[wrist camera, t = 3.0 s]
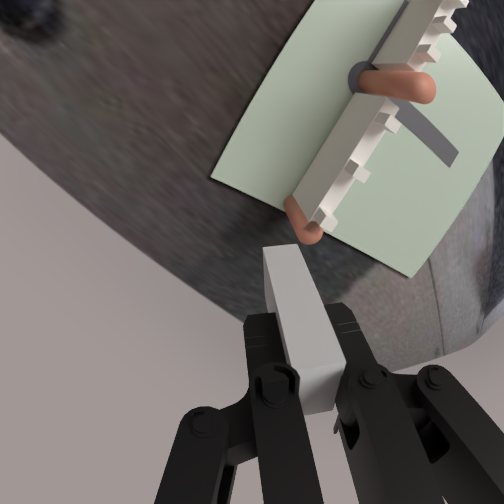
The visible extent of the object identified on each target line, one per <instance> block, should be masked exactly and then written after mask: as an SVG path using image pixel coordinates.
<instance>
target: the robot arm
mask: <svg viewBox="0 0 504 504" xmlns="http://www.w3.org/2000/svg"><path fill="white" fill-rule="evenodd" d="M263 262H264V283H265V299H266V304H267V309H268V313H263V314H254V315H248V316H247V318H246V320H245V323H244V325H243V330H244V340H245V349H246V358H247V368H248V376H249V388H248V390H247V393H246V394H245V396H244V397H243V398H242V399H241V400H240V401H238V402H237V403H235V404H233V405H231V406H228V407H226V408H223V409H220V410H218V409H216V408H213V407H209V406H206V407H197V408H194V409H192V410H190V411H189V412H188V413H186V414H185V415H184V417H183V418H182V420H181V422H180V424H179V428H178V431H177V434H176V437H175V440H174V443H173V446H172V449H171V452H170V455H169V458H168V461H167V464H166V467H165V470H164V474H163V477H162V480H161V483H160V486H159V489H158V492H157V495H156V499H155V502H154V504H230V499H231V494H232V490H233V485H234V480H235V475H236V470H237V465H238V464H240V463H243V462H245V461H248V460H250V459H253V458H255V457H258V462H259V470H260V478H261V485H262V493H263V500H264V504H324V502H323V498H322V493H321V488H320V484H319V480H318V475H317V471H316V466H315V462H314V458H313V453H312V449H311V445H310V440H309V436H308V432H307V427H306V423H305V419H304V415H309V414H315V413H320V412H325V411H331V410H333V408H334V405H335V403H336V407H337V410H338V413H339V414H338V417H337V420H336V423H335V426H334V434H336V433H337V431H338V429H339V432H340V436H341V439H342V443H343V446H344V450H345V453H346V457H347V461H348V464H349V468H350V471H351V475H352V479H353V482H354V486H355V489H356V493H357V497H358V501H359V504H445V502H444V500H443V497H444V499H445V500H446V501H447V503H448V504H504V433H503V432H502V431H501V430H500V428H499V427H498V426H497V425H496V424H495V423H494V421H493V420H492V419H491V418H490V417H489V415H488V414H487V413H486V412H485V411H484V410H483V409H482V407H481V406H480V405H479V404H478V403H477V402H476V401H475V399H474V398H473V397H472V396H471V395H470V394H469V393H468V392H467V391H466V389H465V388H464V387H463V386H462V385H461V384H460V383H459V382H458V380H457V379H456V378H455V377H454V376H453V375H452V374H451V373H450V372H449V371H448V370H447V369H445V368H444V367H442V366H439V365H428V366H425V367H423V368H422V369H421V370H420V371H419V372H418V374H417V375H406V374H394V373H391V372H389V371H388V369H387V368H385V367H383V366H382V365H380V364H378V363H377V361H376V360H375V358H374V355H373V353H372V351H371V349H370V347H369V345H368V343H367V341H366V339H365V337H364V335H363V333H362V331H361V328H360V326H359V324H358V323H357V320H356V318H355V316H354V314H353V312H352V310H350V309H349V308H348V307H347V306H346V305H344V304H343V303H342V302H341V303H334V304H327V305H323V303H322V301H321V298H320V296H319V294H318V291H317V289H316V286H315V284H314V282H313V279H312V277H311V275H310V272H309V270H308V268H307V266H306V263H305V261H304V259H303V256H302V254H301V252H300V250H299V247H298V245H297V244H291V245H281V246H271V247H263ZM442 496H443V497H442Z"/></svg>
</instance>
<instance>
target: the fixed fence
mask: <svg viewBox="0 0 504 504" xmlns="http://www.w3.org/2000/svg"><path fill="white" fill-rule="evenodd" d="M468 2H469V1H468V0H410V1H409V3H408V5H407V6H406V8H405V10H404V11H403V13H402V15H401V16H400V18H399V20H398V21H397V23H396V25H395V26H394V28H393V29H392V31H391V33H390V34H389V36H388V38H387V39H386V41H385V43H384V44H383V46H382V47H381V49H380V51H379V52H378V54H377V56H376V57H375V59H374V61H373V62H372V65H374V66H375V67H376V68H378V69H379V70H365V71H363V72H361V73H360V74H359V76H358V80H357V82H358V86H359V88H360V89H361V90H362V91H363V92H364V93H367V94H373V95H379V96H385V97H390V98H396V99H401V100H406V101H411V102H415V103H420V104H429V103H431V102H432V101H433V100H434V98H435V96H436V84H435V82H434V80H433V78H432V77H431V76H430V75H429V74H427V73H425V72H421V71H422V69H423V67H424V66H425V64H426V62H432V63H437V62H438V60H439V59H440V57H441V55H442V54H441V53H440V52H439V51H438V50H437V49H436V48H435V46H436V44H437V42H438V40H439V39H440V37H441V35H442V33H453V32H454V30H455V28H456V26H457V25H456V24H455V23H454V22H453V21H452V20H451V19H450V18H451V16H452V14H453V12H454V10H455V9H456V8H465V7H466V6H467V4H468Z"/></svg>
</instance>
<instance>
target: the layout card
mask: <svg viewBox="0 0 504 504" xmlns="http://www.w3.org/2000/svg"><path fill="white" fill-rule="evenodd" d="M409 1H410V0H314V2H313V3H312V5H311V6H310V8H309V9H308V10H307V12H306V13H305V15H304V16H303V18H302V19H301V21H300V22H299V24H298V25H297V27H296V28H295V30H294V32H293V33H292V35H291V36H290V38H289V39H288V41H287V42H286V44H285V46H284V47H283V49H282V50H281V52H280V54H279V55H278V57H277V58H276V60H275V62H274V63H273V65H272V67H271V68H270V70H269V71H268V73H267V75H266V76H265V78H264V80H263V82H262V83H261V85H260V87H259V88H258V90H257V92H256V93H255V95H254V97H253V99H252V100H251V102H250V104H249V106H248V107H247V109H246V111H245V113H244V114H243V116H242V118H241V120H240V122H239V123H238V125H237V127H236V129H235V131H234V132H233V134H232V136H231V138H230V140H229V142H228V143H227V145H226V147H225V149H224V151H223V153H222V155H221V157H220V159H219V160H218V162H217V164H216V166H215V168H214V170H213V172H212V174H211V177H212V178H214V179H216V180H219V181H221V182H223V183H225V184H227V185H229V186H232V187H234V188H236V189H238V190H240V191H242V192H244V193H247V194H249V195H251V196H253V197H255V198H257V199H259V200H261V201H263V202H266V203H268V204H270V205H272V206H274V207H276V208H278V209H280V210H282V211H284V212H285V210H284V207H283V204H284V201H285V199H286V198H287V197H288V196H290V195H292V194H293V193H294V191H295V189H296V188H297V186H298V185H299V183H300V181H301V180H302V178H303V176H304V175H305V173H306V172H307V170H308V168H309V167H310V165H311V164H312V162H313V160H314V159H315V157H316V155H317V154H318V152H319V151H320V149H321V147H322V146H323V144H324V142H325V141H326V139H327V138H328V136H329V134H330V133H331V131H332V129H333V128H334V126H335V125H336V123H337V121H338V120H339V118H340V116H341V115H342V113H343V112H344V110H345V108H346V107H347V105H348V103H349V102H350V100H351V99H352V97H353V95H354V94H355V92H356V93H363V94H367V93H364V92H363V91H362V90H361V89H360V88H359V86H358V82H357V80H358V76H359V74H360V73H361V72H363V71H365V70H379V69H378V68H376V67H375V66H374V65H372V62H373V61H374V59H375V57H376V56H377V54H378V52H379V51H380V49H381V47H382V46H383V44H384V43H385V41H386V39H387V38H388V36H389V34H390V33H391V31H392V29H393V28H394V26H395V25H396V23H397V21H398V20H399V18H400V16H401V15H402V13H403V11H404V10H405V8H406V6H407V5H408V3H409ZM435 48H436V49H437V50H438V51H439V52H440V53H441V54H442V55H441V57H440V59H439V60H438V62H437V63H432V62H426V64H425V66H424V67H423V69H422V71H421V72H425V73H427V74H429V75H430V76H431V77H432V78H433V80H434V82H435V84H436V96H435V98H434V100H433V101H432V102H431V103H429V104H420V103H415V102H411V101H406V100H401V99H396V98H390V97H387V98H388V99H389V100H391V101H392V102H393V103H394V104H395V105H397V106H398V107H399V110H398V112H397V113H396V115H395V117H394V118H395V119H397V120H398V121H399V122H400V123H401V124H402V125H401V126H400V128H399V130H398V131H397V133H396V134H394V133H391V132H389V131H385V133H384V135H383V136H382V138H381V140H380V141H379V143H378V144H377V146H376V148H375V149H374V151H373V152H372V154H371V156H370V157H369V159H368V160H367V162H366V163H365V165H364V167H363V168H365V169H366V170H367V171H369V172H370V173H371V174H370V176H369V177H368V179H367V180H366V182H365V183H362V182H361V181H359V180H358V179H355V181H354V182H353V184H352V185H351V187H350V188H349V190H348V191H347V193H346V194H345V196H344V197H343V199H342V200H341V202H340V203H339V205H338V206H337V208H336V209H335V211H334V212H333V214H332V215H333V216H334V217H335V218H336V220H337V221H338V224H337V225H336V227H335V228H334V230H333V231H332V232H330V231H328V230H326V229H324V228H323V231H324V232H326V233H328V234H330V235H332V236H334V237H336V238H338V239H340V240H341V241H343V242H345V243H347V244H349V245H351V246H353V247H355V248H357V249H359V250H360V251H362V252H364V253H366V254H368V255H370V256H372V257H373V258H375V259H377V260H379V261H381V262H383V263H385V264H386V265H388V266H390V267H392V268H394V269H395V270H397V271H399V272H401V273H403V274H404V275H406V276H408V277H410V278H411V279H412V277H413V276H414V275H415V274H416V272H417V271H418V270H419V268H420V267H421V266H422V265H423V263H424V262H425V261H426V259H427V258H428V257H429V255H430V254H431V253H432V251H433V250H434V249H435V247H436V246H437V244H438V243H439V242H440V240H441V239H442V237H443V236H444V235H445V233H446V232H447V230H448V229H449V227H450V226H451V224H452V223H453V221H454V220H455V219H456V217H457V216H458V214H459V212H460V211H461V209H462V208H463V206H464V205H465V203H466V202H467V200H468V198H469V197H470V195H471V194H472V192H473V190H474V189H475V187H476V185H477V184H478V182H479V180H480V179H481V177H482V175H483V174H484V172H485V170H486V168H487V167H488V165H489V163H490V161H491V159H492V157H493V156H494V154H495V152H496V150H497V148H498V146H499V144H500V142H501V140H502V138H503V136H504V102H503V101H502V99H501V98H500V96H499V95H498V93H497V92H496V90H495V89H494V88H493V86H492V85H491V83H490V82H489V81H488V79H487V78H486V77H485V75H484V74H483V73H482V71H481V70H480V69H479V68H478V66H477V65H476V64H475V63H474V61H473V60H472V59H471V58H470V56H469V55H468V54H467V53H466V52H465V51H464V49H463V48H462V47H461V46H460V45H459V44H458V43H457V41H456V40H455V39H454V38H453V37H452V36H451V35H450V34H449V33H442V35H441V37H440V39H439V40H438V42H437V44H436V46H435ZM370 95H373V94H370ZM376 96H379V95H376ZM382 97H385V96H382Z"/></svg>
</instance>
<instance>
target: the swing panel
mask: <svg viewBox="0 0 504 504" xmlns="http://www.w3.org/2000/svg"><path fill="white" fill-rule="evenodd" d="M398 110H399V107H398V106H397V105H395V104H394V103H393V102H392V101H391V100H389V99H388V98H387V97H382V96H376V95H370V94H363V93H356V92H355V94H354V95H353V97H352V99H351V100H350V102H349V103H348V105H347V107H346V108H345V110H344V112H343V113H342V115H341V116H340V118H339V120H338V121H337V123H336V125H335V126H334V128H333V129H332V131H331V133H330V134H329V136H328V138H327V139H326V141H325V142H324V144H323V146H322V147H321V149H320V151H319V152H318V154H317V155H316V157H315V159H314V160H313V162H312V164H311V165H310V167H309V168H308V170H307V172H306V173H305V175H304V176H303V178H302V180H301V181H300V183H299V185H298V186H297V188H296V189H295V191H294V193H293V194H292V195H290V196H288V197H287V198H286V199H285V201H284V204H283V207H284V210H285V212H286V214H287V216H288V218H289V220H290V222H291V224H292V226H293V228H294V230H295V233H296V235H297V237H298V239H299V240H300V242H302V243H303V244H308V245H310V244H314V243H316V242H317V241H319V240H320V238H321V237H322V234H323V228H324V229H326V230H328V231H330V232H332V231H333V230H334V228H335V227H336V225H337V224H338V221H337V220H336V218H335V217H334V216H333V215H332V214H333V212H334V211H335V209H336V208H337V206H338V205H339V203H340V202H341V200H342V199H343V197H344V196H345V194H346V193H347V191H348V190H349V188H350V187H351V185H352V184H353V182H354V181H355V179H358V180H359V181H361V182H362V183H365V182H366V180H367V179H368V177H369V176H370V174H371V173H370V172H369V171H367V170H366V169H365V168H363V167H364V165H365V163H366V162H367V160H368V159H369V157H370V156H371V154H372V152H373V151H374V149H375V148H376V146H377V144H378V143H379V141H380V140H381V138H382V136H383V135H384V133H385V131H389V132H391V133H394V134H396V133H397V131H398V130H399V128H400V126H401V125H402V124H401V123H400V122H399V121H398V120H397V119H395V118H394V117H395V115H396V113H397V112H398Z"/></svg>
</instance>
